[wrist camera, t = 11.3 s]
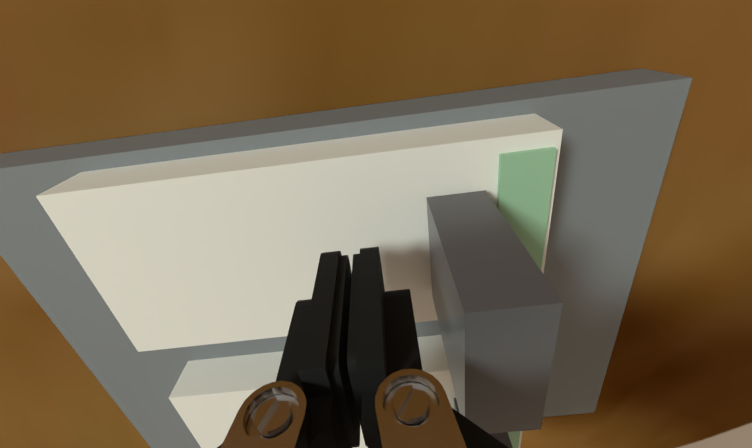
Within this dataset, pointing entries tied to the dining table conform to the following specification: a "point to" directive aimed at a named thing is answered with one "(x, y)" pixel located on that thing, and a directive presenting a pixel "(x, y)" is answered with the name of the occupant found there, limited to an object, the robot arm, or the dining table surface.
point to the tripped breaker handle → (491, 313)
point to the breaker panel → (574, 251)
